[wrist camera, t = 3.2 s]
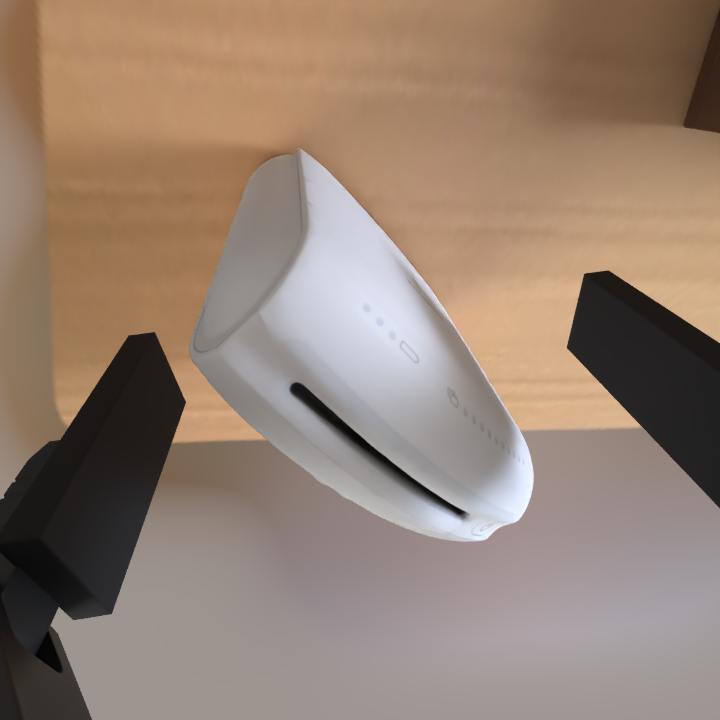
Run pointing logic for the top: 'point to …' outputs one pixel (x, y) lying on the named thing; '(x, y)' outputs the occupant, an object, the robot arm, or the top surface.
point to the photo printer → (355, 361)
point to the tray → (707, 90)
